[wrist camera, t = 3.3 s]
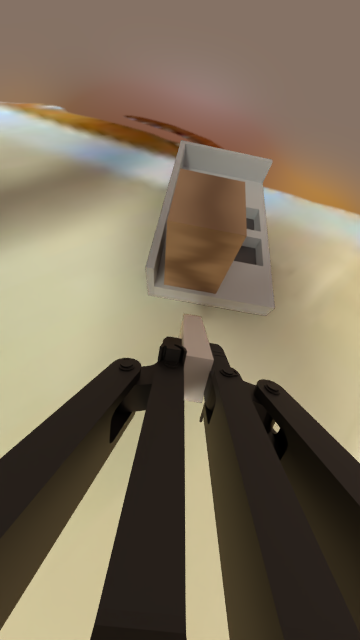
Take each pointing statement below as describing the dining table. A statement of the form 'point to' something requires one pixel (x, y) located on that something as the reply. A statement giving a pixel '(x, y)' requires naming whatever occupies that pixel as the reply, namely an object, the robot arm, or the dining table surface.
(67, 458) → the robot arm
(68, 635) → the dining table surface
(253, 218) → the deck
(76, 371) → the dining table surface
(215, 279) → the block
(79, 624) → the dining table surface
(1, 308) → the dining table surface
